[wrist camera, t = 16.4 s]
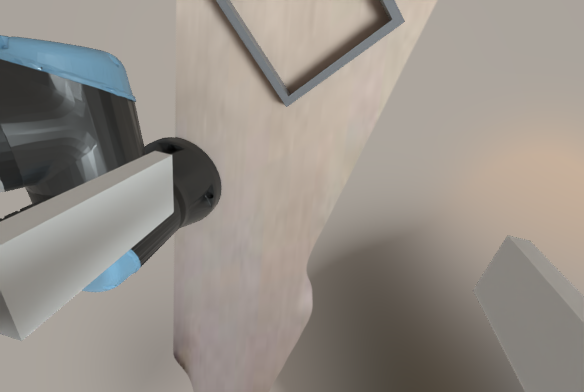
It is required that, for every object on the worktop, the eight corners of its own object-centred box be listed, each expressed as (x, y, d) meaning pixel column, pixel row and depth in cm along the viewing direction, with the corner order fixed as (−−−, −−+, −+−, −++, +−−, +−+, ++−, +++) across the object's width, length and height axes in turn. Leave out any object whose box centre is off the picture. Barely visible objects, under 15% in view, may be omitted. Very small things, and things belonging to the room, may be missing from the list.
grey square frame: (289, 105, 41) (286, 107, 39) (214, -10, 36) (207, -13, 35) (402, 23, 34) (404, 21, 32) (326, -129, 30) (324, -141, 28)
